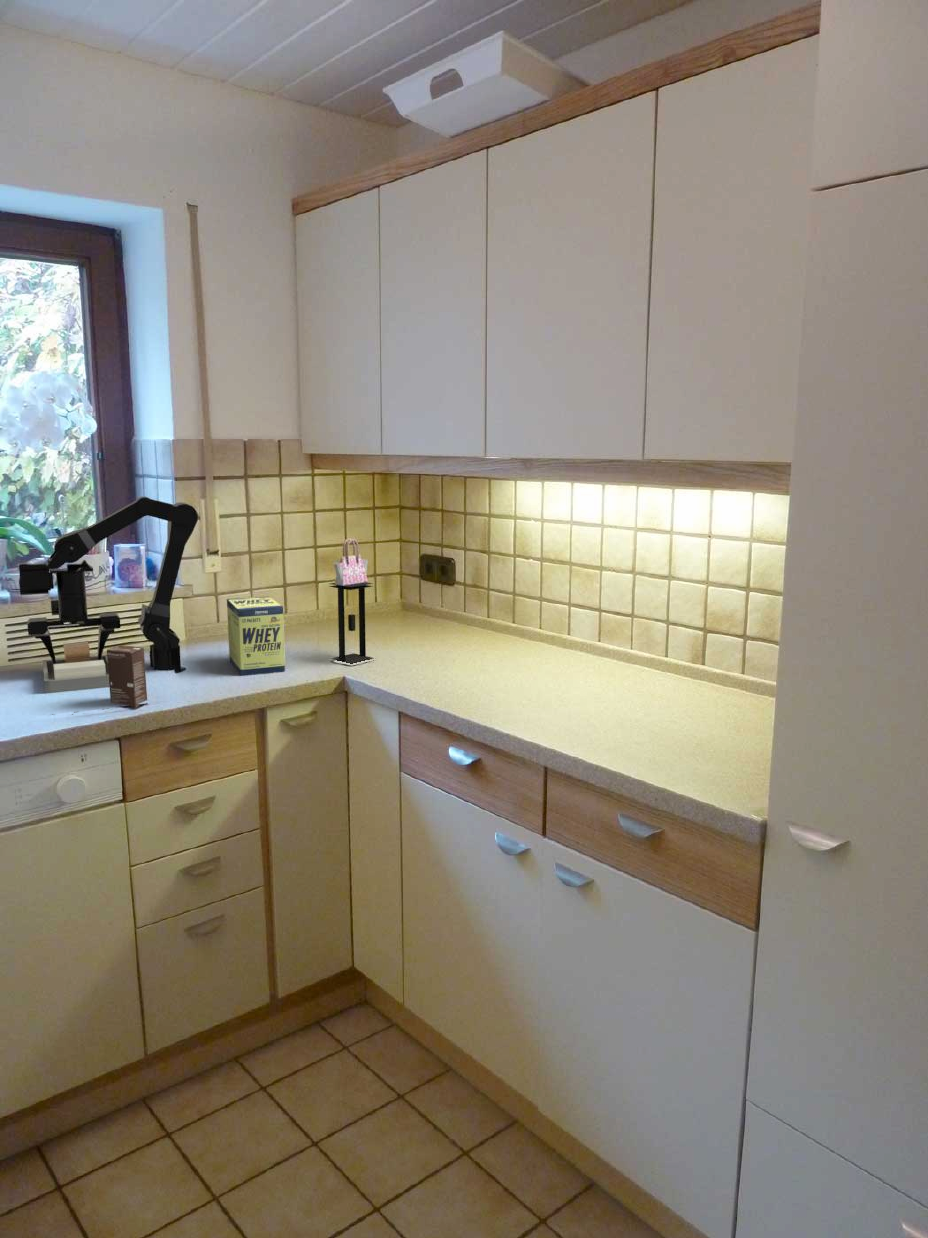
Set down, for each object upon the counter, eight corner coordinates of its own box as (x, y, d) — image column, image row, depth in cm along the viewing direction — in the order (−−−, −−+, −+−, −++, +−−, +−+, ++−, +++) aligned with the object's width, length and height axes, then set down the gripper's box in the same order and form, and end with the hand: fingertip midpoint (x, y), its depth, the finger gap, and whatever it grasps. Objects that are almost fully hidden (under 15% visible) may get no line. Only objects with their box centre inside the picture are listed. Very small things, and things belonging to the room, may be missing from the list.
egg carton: (106, 685, 198) (105, 664, 197) (55, 690, 194) (54, 669, 193) (104, 679, 203) (103, 659, 202) (55, 684, 199) (53, 664, 198)
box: (109, 707, 186) (105, 649, 183) (124, 701, 190) (120, 644, 188) (135, 710, 184) (131, 651, 182) (149, 704, 188) (145, 646, 186)
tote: (117, 690, 198) (116, 674, 197) (46, 698, 192) (44, 681, 191) (109, 669, 216) (108, 654, 215) (43, 675, 210) (42, 660, 209)
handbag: (357, 655, 231) (355, 535, 225) (378, 660, 226) (377, 537, 220) (325, 662, 223) (322, 538, 218) (346, 667, 219) (343, 541, 213)
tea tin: (91, 676, 205) (89, 646, 204) (67, 679, 203) (64, 648, 202) (89, 671, 210) (87, 641, 208) (65, 673, 208) (63, 643, 206)
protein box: (241, 676, 210) (238, 609, 207) (228, 661, 224) (225, 598, 221) (286, 672, 215) (284, 606, 212) (271, 657, 229) (269, 595, 226)
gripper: (113, 584, 214) (118, 650, 217) (24, 589, 206) (30, 657, 209) (118, 591, 204) (123, 660, 207) (25, 597, 196) (31, 668, 199)
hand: (77, 661), depth 206 cm, fingers open, 9 cm apart
